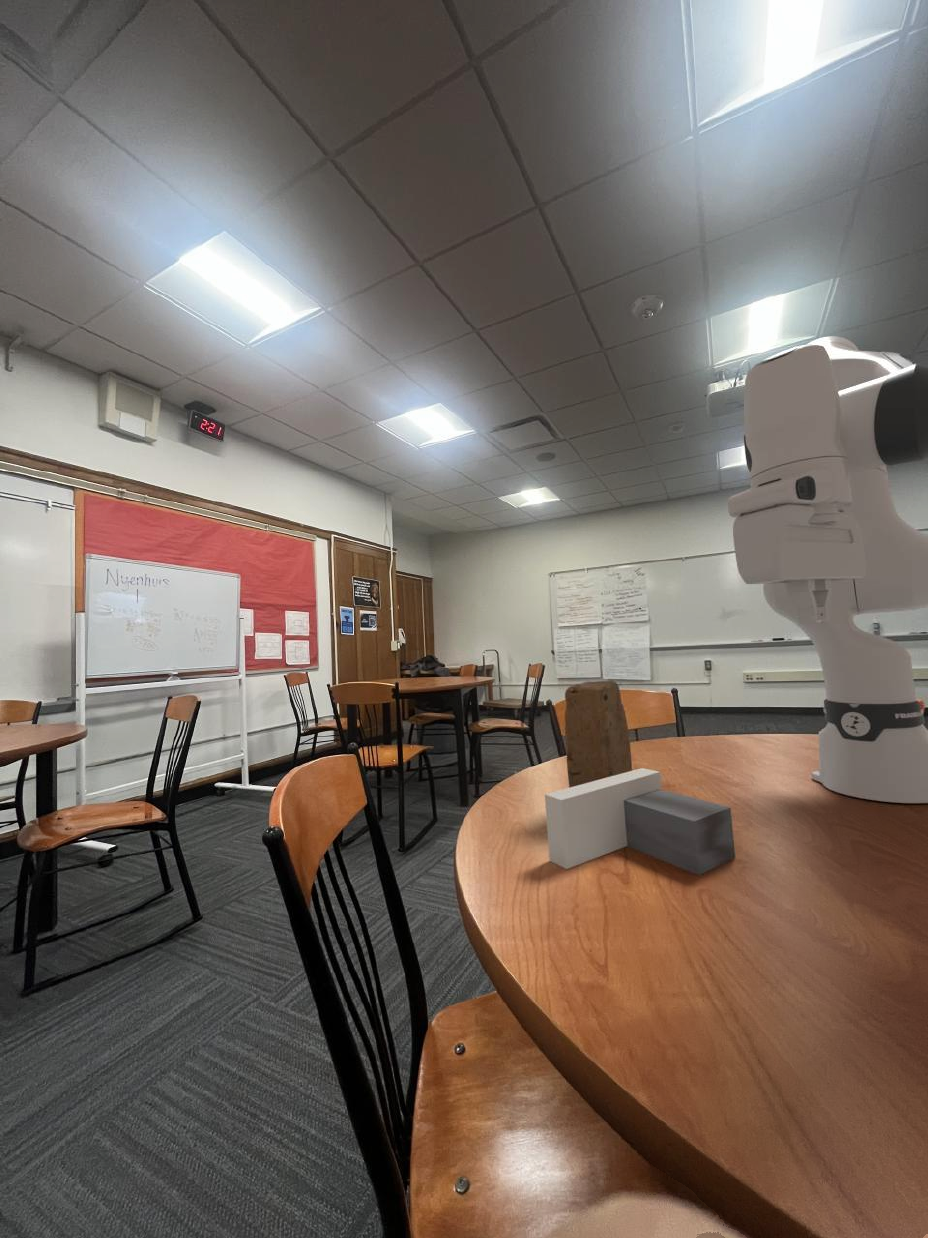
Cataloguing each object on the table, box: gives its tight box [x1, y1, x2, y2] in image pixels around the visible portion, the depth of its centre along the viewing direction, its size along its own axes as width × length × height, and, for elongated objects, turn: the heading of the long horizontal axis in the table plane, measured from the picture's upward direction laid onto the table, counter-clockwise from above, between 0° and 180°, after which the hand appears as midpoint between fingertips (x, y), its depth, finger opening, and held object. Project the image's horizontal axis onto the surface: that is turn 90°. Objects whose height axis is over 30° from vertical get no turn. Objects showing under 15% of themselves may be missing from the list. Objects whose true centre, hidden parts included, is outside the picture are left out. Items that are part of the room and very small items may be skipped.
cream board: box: [544, 767, 663, 870], centre depth 63 cm, size 18×3×8 cm, turn 121°
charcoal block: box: [624, 789, 736, 876], centre depth 60 cm, size 7×10×6 cm
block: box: [564, 680, 633, 788], centre depth 77 cm, size 11×8×20 cm
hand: (813, 623), depth 53 cm, fingers closed
